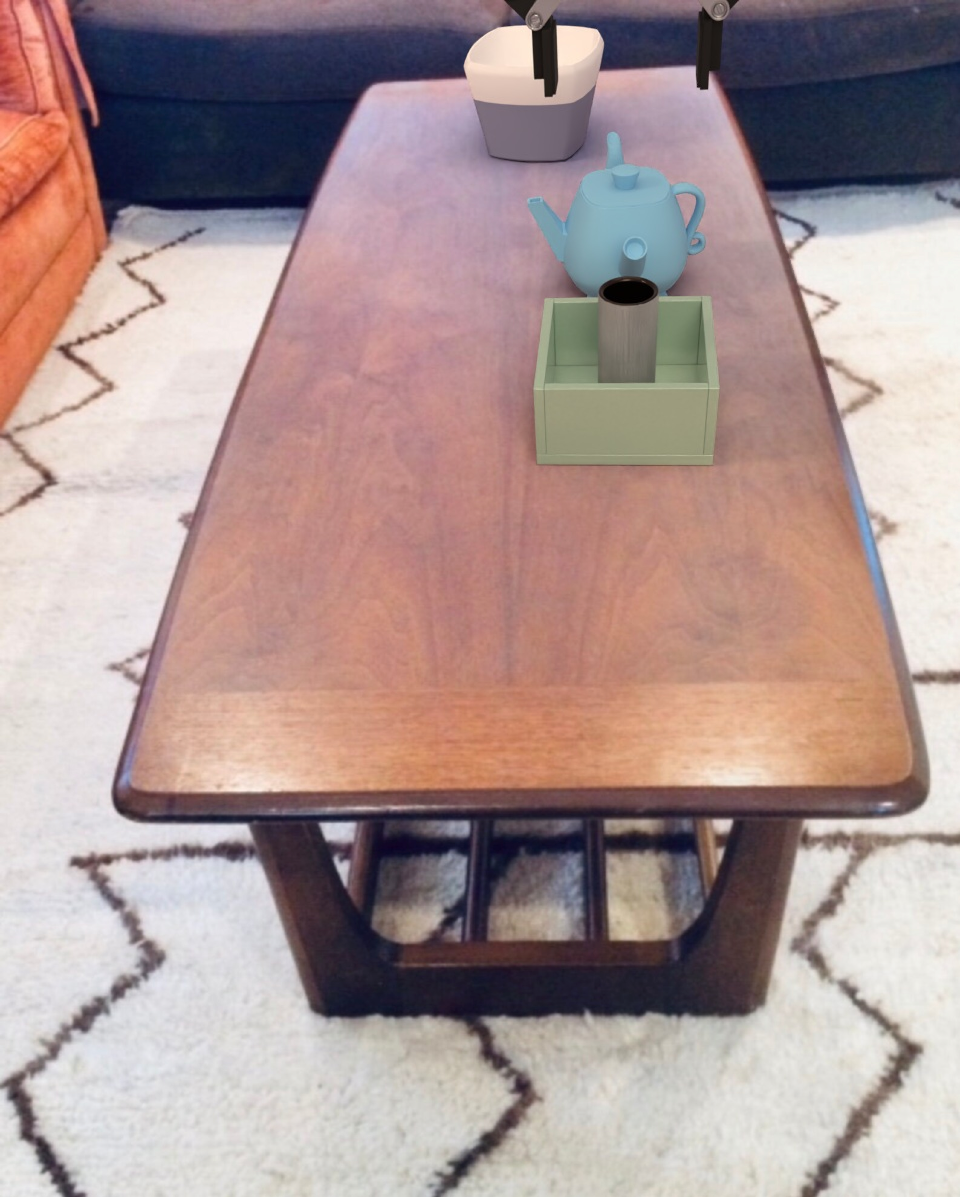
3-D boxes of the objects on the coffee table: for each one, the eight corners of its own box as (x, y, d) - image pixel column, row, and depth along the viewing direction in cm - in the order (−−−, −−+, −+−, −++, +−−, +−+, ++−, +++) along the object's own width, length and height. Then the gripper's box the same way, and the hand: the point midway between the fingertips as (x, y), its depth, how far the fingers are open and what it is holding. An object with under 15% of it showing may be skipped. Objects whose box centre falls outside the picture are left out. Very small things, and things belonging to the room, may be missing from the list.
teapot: (514, 286, 107) (509, 172, 99) (610, 236, 113) (612, 125, 105) (632, 340, 98) (636, 219, 91) (729, 283, 105) (740, 165, 97)
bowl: (457, 166, 129) (449, 66, 121) (494, 117, 139) (488, 22, 132) (585, 173, 125) (585, 70, 117) (613, 122, 135) (614, 24, 128)
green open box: (705, 369, 94) (711, 295, 89) (712, 465, 84) (719, 388, 80) (547, 370, 96) (544, 297, 91) (536, 465, 86) (533, 389, 81)
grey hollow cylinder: (653, 389, 91) (658, 274, 84) (654, 421, 87) (659, 304, 80) (598, 390, 91) (598, 275, 84) (597, 421, 88) (597, 305, 81)
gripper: (461, -222, 58) (486, 113, 69) (800, -252, 55) (768, 101, 67) (477, -241, 63) (498, 73, 75) (787, -269, 61) (759, 60, 72)
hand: (626, 86), depth 71 cm, fingers open, 9 cm apart
